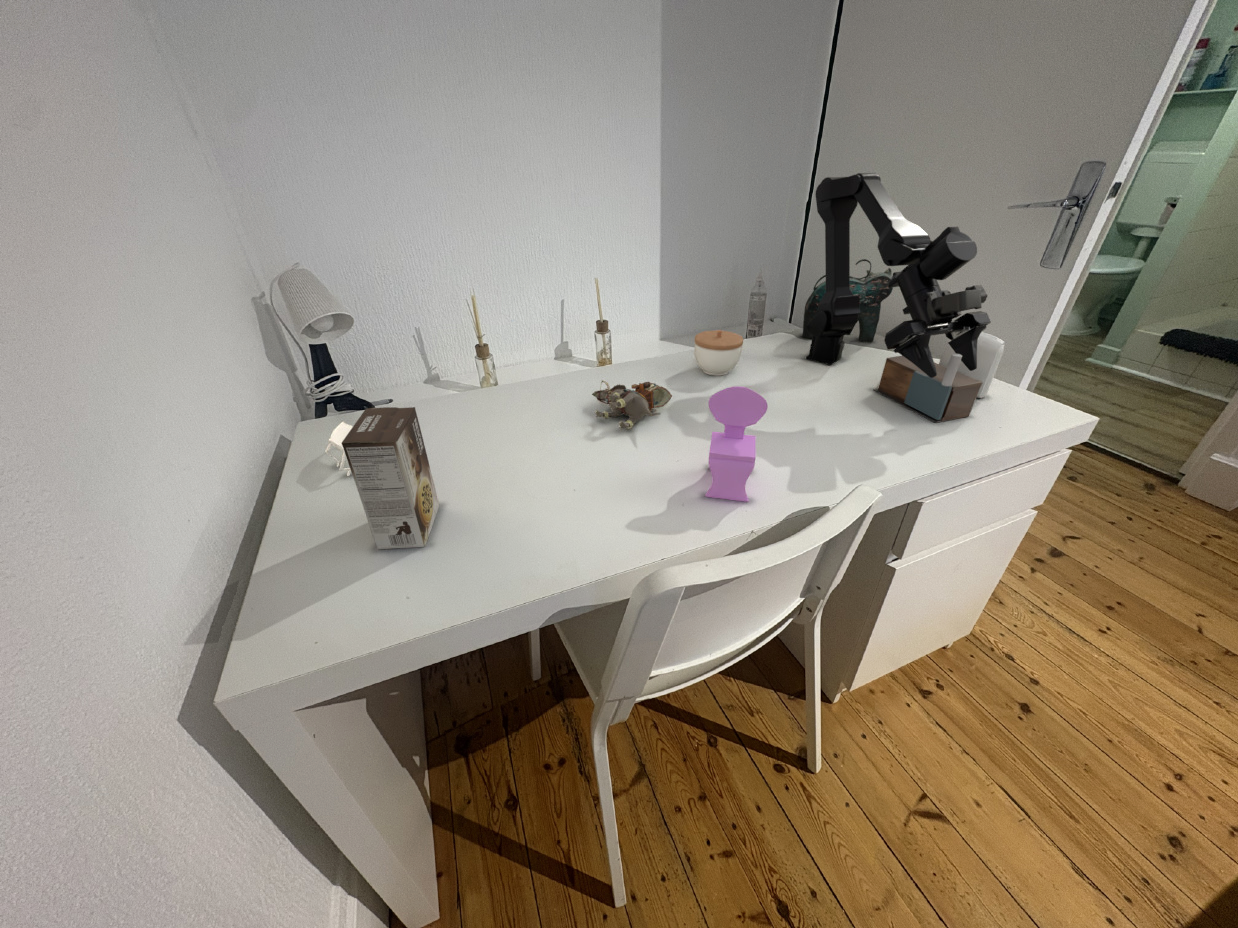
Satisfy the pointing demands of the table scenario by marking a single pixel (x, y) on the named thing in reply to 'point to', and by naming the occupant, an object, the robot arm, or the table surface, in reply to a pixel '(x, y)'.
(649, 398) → the figurine
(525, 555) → the table surface
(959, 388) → the cabinet
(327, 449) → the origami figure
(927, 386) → the sliding door
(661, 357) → the table surface
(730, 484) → the toy chair
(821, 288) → the dark green sculpted piece
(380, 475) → the brown food box
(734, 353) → the trinket box
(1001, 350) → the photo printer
